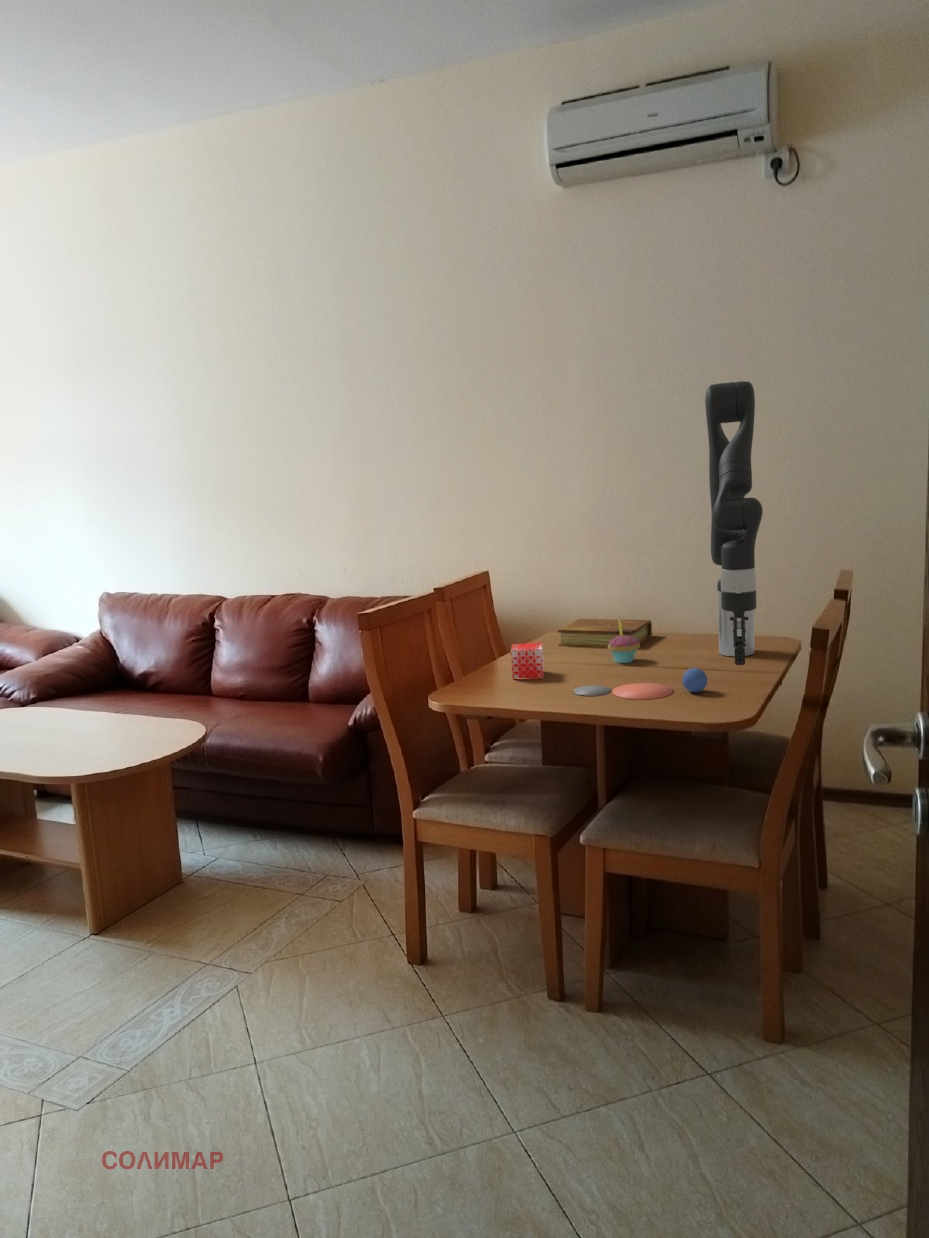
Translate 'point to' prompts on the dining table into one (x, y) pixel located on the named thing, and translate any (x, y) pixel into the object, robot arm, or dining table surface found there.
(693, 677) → the ball
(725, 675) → the dining table surface
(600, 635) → the diary
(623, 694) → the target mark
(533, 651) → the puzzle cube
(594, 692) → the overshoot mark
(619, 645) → the cupcake
